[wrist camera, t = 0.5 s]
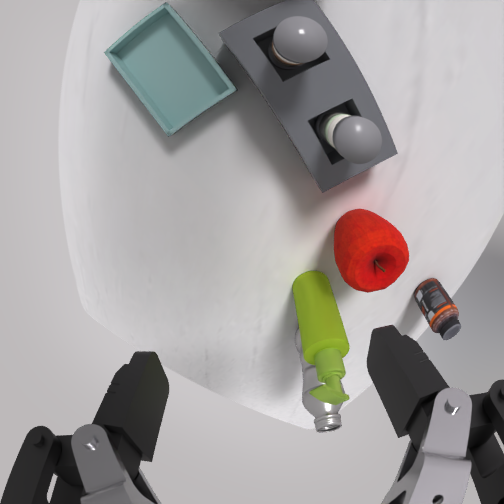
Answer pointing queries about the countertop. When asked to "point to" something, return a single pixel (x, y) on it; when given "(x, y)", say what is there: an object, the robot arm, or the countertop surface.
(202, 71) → the tray
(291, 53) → the fuse
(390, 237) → the apple
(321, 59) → the block
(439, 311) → the supplement bottle
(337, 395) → the soap dispenser
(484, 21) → the countertop surface
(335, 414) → the plastic bottle
